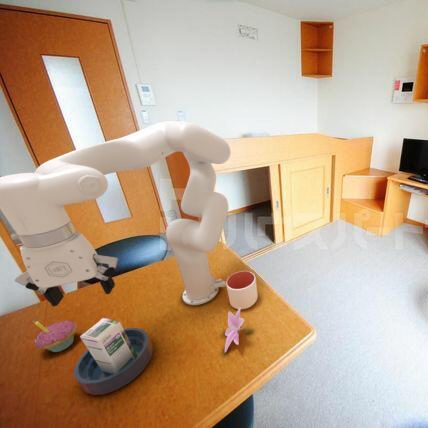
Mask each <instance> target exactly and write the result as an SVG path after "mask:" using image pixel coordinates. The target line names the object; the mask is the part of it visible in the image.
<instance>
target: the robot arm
mask: <svg viewBox="0 0 428 428" xmlns="http://www.w3.org/2000/svg"><path fill="white" fill-rule="evenodd" d="M177 152H181V153H182V154H183V156H184V158H185V160H186V161H187V164H188V166H189V177H188V180H187V182H186V186H185V189H184V193H183V196H182V197H181V202H180V210H181V211H182V212H183V213H184V214H186V215H188V216H191V217H195V218H200V219H201V220H200V221H199V220H194V219H190V218H176V219H174V220H172V221H171V222H169V224H168V225H167V227H166V228H165V238H166V241H167V243H168V245H169V247H170V249H171V250H172V253H173V255H174V258H175V260H176V262H177V266H178V270H179V273H180V276H181V280H182V283H183V284H182V285H183V287H184V291H183V293H182V300H183V303H184V304H186V305H188V306H199V305H203V304H206V303H208V302H209V301H211V300H213V299H214V298H215V297H216V296H217V295H218V293H219V291H220V290H219V289H220V288H224V287H227V286H226V280H223V278H218V279H215V277H214V276H213V275H212V273H211V268H210V263H209V259H208V254H207V253H210V252H212V251H214V250H215V249H216V248H217V246H218V245H219V243H220V240H221V238H222V237H221V236H222V233H223V230H224V227H225V223H226V220H227V217H228V214H229V201H228V199H227V197H226V196H225V195H224V194H223V193H220V192H217V191H215V187H216V183H217V173H216V170H215V168H214V166H213V164H214V165H222V164H225V163H226V162H228V161H229V159H230V158H231V147H230V145H229V143H228V142H227V141H226V140H225V138H223V137H221V136H219V135H217V134H216V133H214V132H211V131H210V130H208V129H206V128H204V127H203V126H200V125H198V124H196V123H193V122H190V121H179V120H162V121H159V122H156V123H154V124H152V125H149V126H147V127H144V128H142V129H139V130H137V131H135V132H132V133H130V134H127V135H125V136H122V137H119V138H115V139H111V140H108V141H104V142H100V143H97V144H93V145H89V146H86V147H85V146H84V147H82V148H78V149H75V150H72V151H70V152H67V153H64V154H62V155H59V156H57V157H54V158H52V159H49V160H47V161H45V162H43V163H41V164H40V165H39V166H38V167H37V168H36V169H35V171H34V172H21V173H14V174H7V175H2V176H0V211H1V212H2V214H3V215H4V217H5V219H6V220H7V221H8V223H9V225H10V226H11V228H12V229H13V231H14V232H15V233H11V235H10V239H11V240H12V241H20V242H21V244H22V245H21V246H20V247H19V251H20V256H21V259H22V263H23V264H24V267H25V269H26V270H25V271H24V272H22V273H21V274H19V275H18V276H17V277H16V278H15V279H14V281H15V283H17V284H19V285H21V286H25V289H27V290H32V291H35V292H36V293H37V294H38V295H43V296H44V298H45V300H46V301H47V302H49V303H50V305H51V306H52V307H57V306H58V305H59V304H61V301H62V300H63V299H64V297H65V296H64V294H63V292H62V291H61V289H60V288H59V286H64V285H68V284H72V283H78V282H84V281H88V280H90V279H93V278H96V279H97V280H98V279H99V280H100V281H99V284H100V286H101V288H102V289H103V291H104V294H105V295H110V294H111V293H112V291H113V289H114V288H115V287H116V283H115V281H114V279H113V277H112V274H113V273H114V272H115V270H116V268H117V265H118V262H119V258H118V257H115V256H109V255H101V254H98V253H97V251H96V249H95V248H94V246H93V245H92V243H91V242H90V241H89V240H88V239H87V237H86V236H85V235H84V234H83V233H82V232H80V231H77V230H76V228H75V226H74V225H73V222H72V220H71V218H70V216H69V214H68V212H67V211H66V209H65V207H64V206H69V205H73V204H74V205H75V204H80V203H86V202H90V201H93V200H97V199H99V198H100V197H102V196H103V195H104V194H105V193H106V192H107V190H108V187H109V181H108V178H107V177H106V175H109V174H114V173H119V172H120V173H121V172H131V171H137V170H143V169H147V168H148V167H151V166H152V165H154V164H156V163H158V162H159V161H161V160H163V159H165V158H166V157H169V156H171V155H173V154H174V153H177ZM103 264H105V265H108V268H107V267H105V266H103Z"/></svg>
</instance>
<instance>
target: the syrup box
mask: <svg viewBox="0 0 428 428" xmlns="http://www.w3.org/2000/svg"><path fill="white" fill-rule="evenodd" d="M124 329H125V328H124V327H123V325H122V323H121V321H119V320H114V319H112V318H111V319H110V318H105V317H102V318H101V319H100V320H99V321H98V322H96V323H95V324H94V325H93V326H91V327H90V328H88V329H87V330H86V331H85V332H84V333H82V334H81V335H80V336H79V338H80V339H81V341H82V342H83V344H84V346H85V347H86V348H87V349H88V350H89V351H90V353H91V354H92V356H93V358H94V359H95V361H96V362H97V364H98V365H99V367H100V368H101V370H102V371H103V372H107V373H110V374H114V373H116V372H118V371H120V370H122V369H123V368H125V367H126V366H127V365H129V364H130V363H131V362H132V361H133V360H134V359H135V358H136V357H137V354H136V352H135V350H134V348H133V346H132V345H131V343H130V341H129V339H128V337H127V335H126V333H125V331H124Z"/></svg>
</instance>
